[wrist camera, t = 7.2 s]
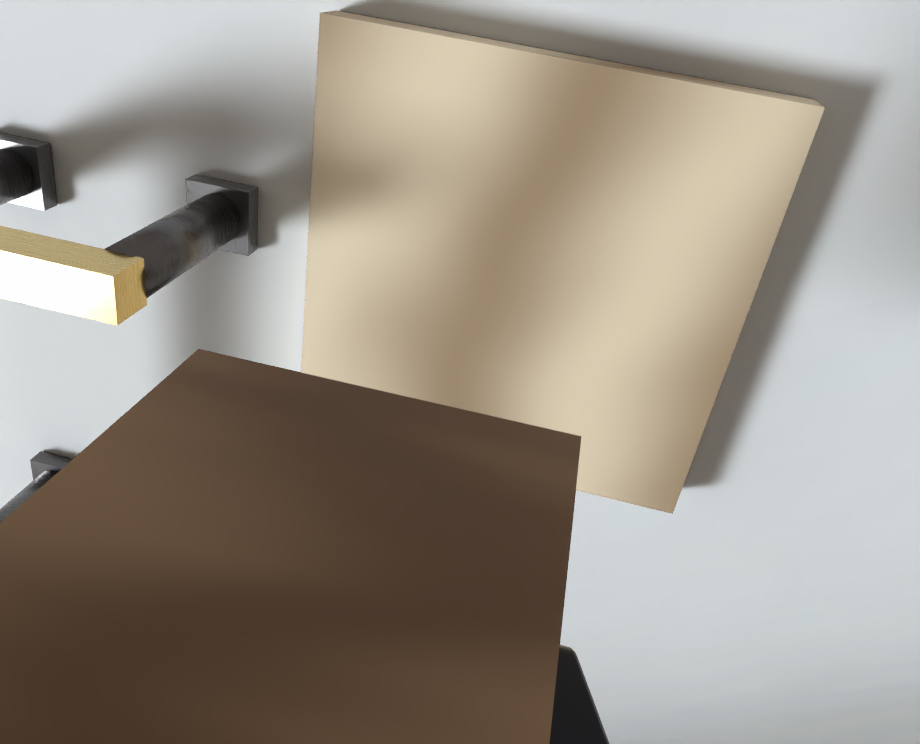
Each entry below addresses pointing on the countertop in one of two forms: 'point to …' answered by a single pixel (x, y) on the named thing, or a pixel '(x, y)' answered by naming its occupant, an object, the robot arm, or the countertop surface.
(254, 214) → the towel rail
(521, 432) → the walnut block
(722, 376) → the birch pad
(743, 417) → the countertop surface
